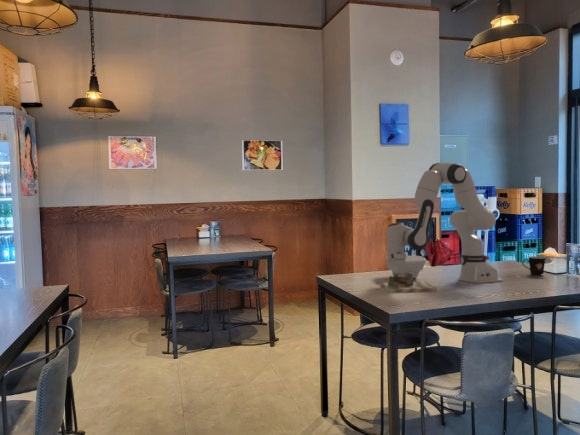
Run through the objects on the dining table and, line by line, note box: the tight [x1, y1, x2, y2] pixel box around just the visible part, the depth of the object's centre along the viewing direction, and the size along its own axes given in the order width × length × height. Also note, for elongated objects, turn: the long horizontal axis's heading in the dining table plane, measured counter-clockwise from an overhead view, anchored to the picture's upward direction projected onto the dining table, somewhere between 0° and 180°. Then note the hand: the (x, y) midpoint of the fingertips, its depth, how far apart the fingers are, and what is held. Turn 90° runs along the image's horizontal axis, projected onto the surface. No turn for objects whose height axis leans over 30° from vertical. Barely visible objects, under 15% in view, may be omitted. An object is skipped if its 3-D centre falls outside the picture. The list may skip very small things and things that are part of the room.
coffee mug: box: [522, 256, 546, 276], centre depth 273 cm, size 12×9×10 cm
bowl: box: [386, 255, 427, 279], centre depth 272 cm, size 22×22×12 cm
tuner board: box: [380, 281, 438, 294], centre depth 243 cm, size 24×18×4 cm
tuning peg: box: [389, 272, 414, 285], centre depth 243 cm, size 12×4×6 cm, turn 90°
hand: (395, 279), depth 245 cm, fingers closed
